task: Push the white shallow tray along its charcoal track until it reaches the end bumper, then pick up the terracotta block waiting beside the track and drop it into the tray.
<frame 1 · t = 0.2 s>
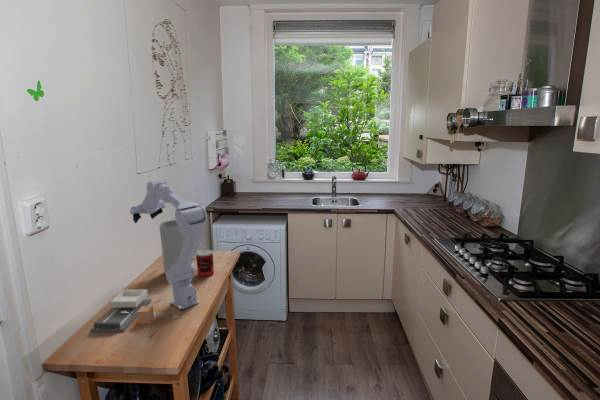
hand: (143, 219, 162), 31 cm above the table, fingers open, 7 cm apart
white shallow tray: (129, 299, 146), point 3 cm above the table, slide at 0.0 cm
block: (146, 321, 137), on the table
track: (123, 315, 141), on the table
canned food: (206, 274, 178), on the table
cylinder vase: (178, 272, 180), on the table
frog figurine: (181, 259, 198), on the table
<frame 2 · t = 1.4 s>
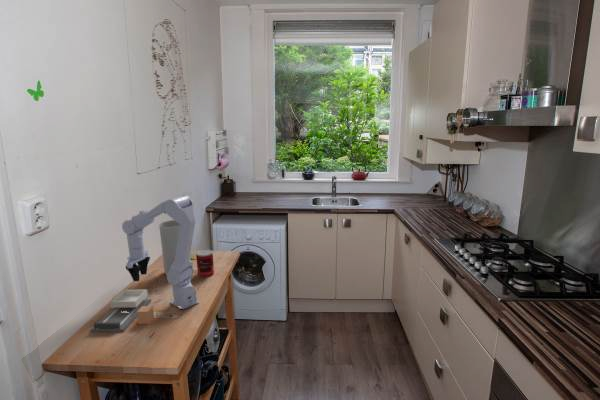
hand: (140, 277, 155), 8 cm above the table, fingers open, 6 cm apart
nothing on the table moved.
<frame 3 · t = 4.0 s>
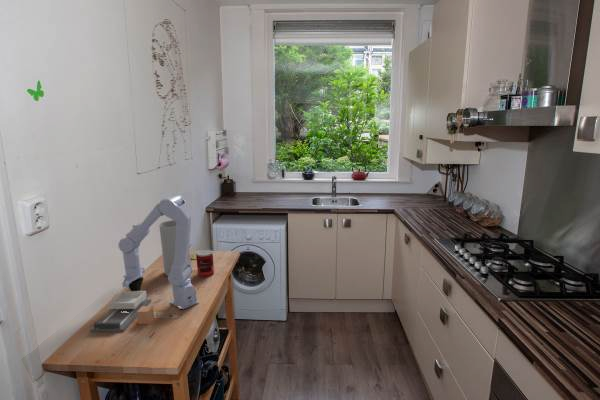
hand: (136, 295, 152), 2 cm above the table, fingers closed
white shallow tray: (128, 301, 145), point 3 cm above the table, slide at 1.1 cm, touching gripper
everything else where it was.
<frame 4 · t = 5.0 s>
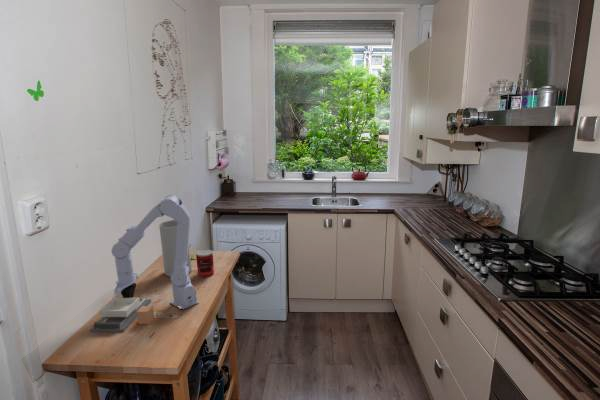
hand: (129, 302, 146), 2 cm above the table, fingers closed
white shallow tray: (120, 308, 139), point 3 cm above the table, slide at 7.0 cm, touching gripper
everything else where it was.
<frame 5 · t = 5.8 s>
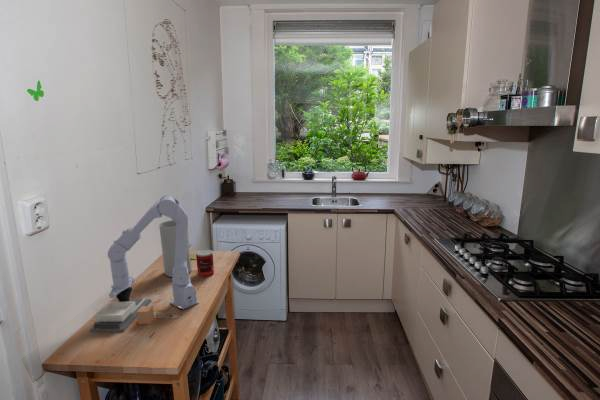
hand: (125, 306, 143), 2 cm above the table, fingers closed
white shallow tray: (116, 312, 136), point 3 cm above the table, slide at 10.1 cm, touching gripper
everything else where it was.
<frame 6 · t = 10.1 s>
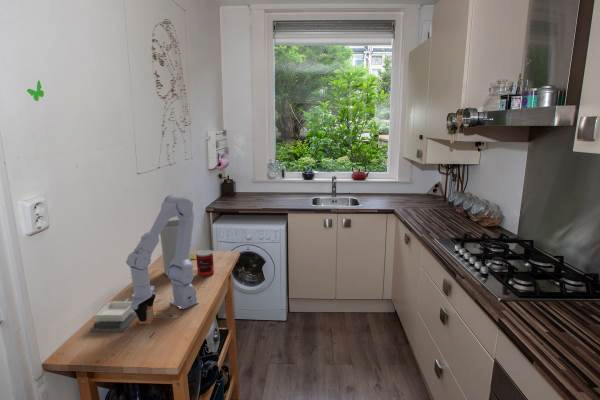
hand: (145, 317, 136), 1 cm above the table, fingers closed on block, 4 cm apart
white shallow tray: (116, 312, 136), point 3 cm above the table, slide at 10.0 cm
block: (146, 321, 137), on the table, touching gripper
everything else where it was.
when the fingers open (6 cm above the table, at t = 13.0 s): block drops 1 cm, resting on white shallow tray.
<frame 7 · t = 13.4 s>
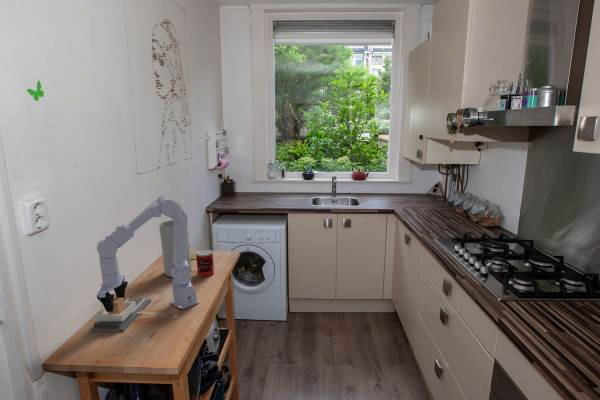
hand: (115, 306, 136), 6 cm above the table, fingers open, 7 cm apart
white shallow tray: (116, 312, 136), point 3 cm above the table, slide at 10.0 cm, touching block
block: (117, 312, 136), point 3 cm above the table, touching white shallow tray
everything else where it was.
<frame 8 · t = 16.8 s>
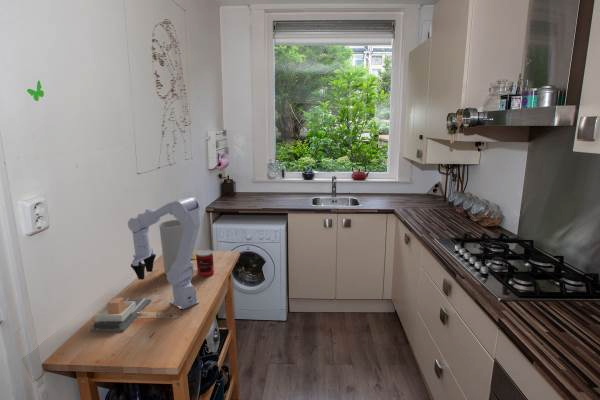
hand: (145, 275, 154), 9 cm above the table, fingers open, 7 cm apart
nothing on the table moved.
at the end: white shallow tray slide at 10.0 cm; block inside the target area (0.3 cm from its centre), point 3.4 cm above the table; block tilted 0° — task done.
